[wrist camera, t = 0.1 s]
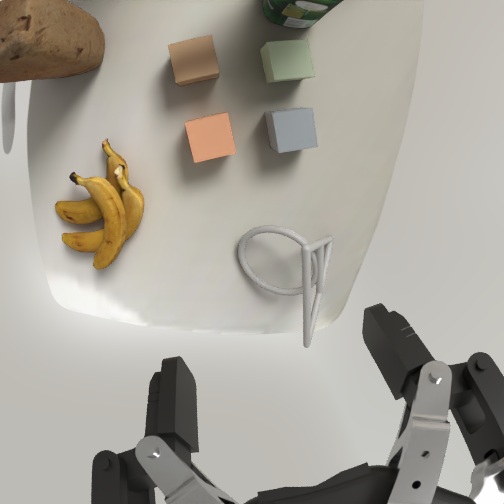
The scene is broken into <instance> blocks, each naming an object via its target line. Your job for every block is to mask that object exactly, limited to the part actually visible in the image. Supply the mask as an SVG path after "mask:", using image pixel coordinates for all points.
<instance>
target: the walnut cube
mask: <svg viewBox="0 0 504 504" xmlns="http://www.w3.org/2000/svg"><path fill="white" fill-rule="evenodd" d="M168 48H169V53H170V58H171V63H172V68H173V72H174V77H175V82H176V83H177V84H178V85H179V86H183V85H187V84H191V83H195V82H199V81H203V80H208V79H212V78H217V77H218V76H219V68H218V63H217V58H216V54H215V49H214V44H213V39H212V35H208V36H204V37H199V38H194V39H190V40H186V41H182V42H178V43H174V44H170V45H168Z"/></svg>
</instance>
